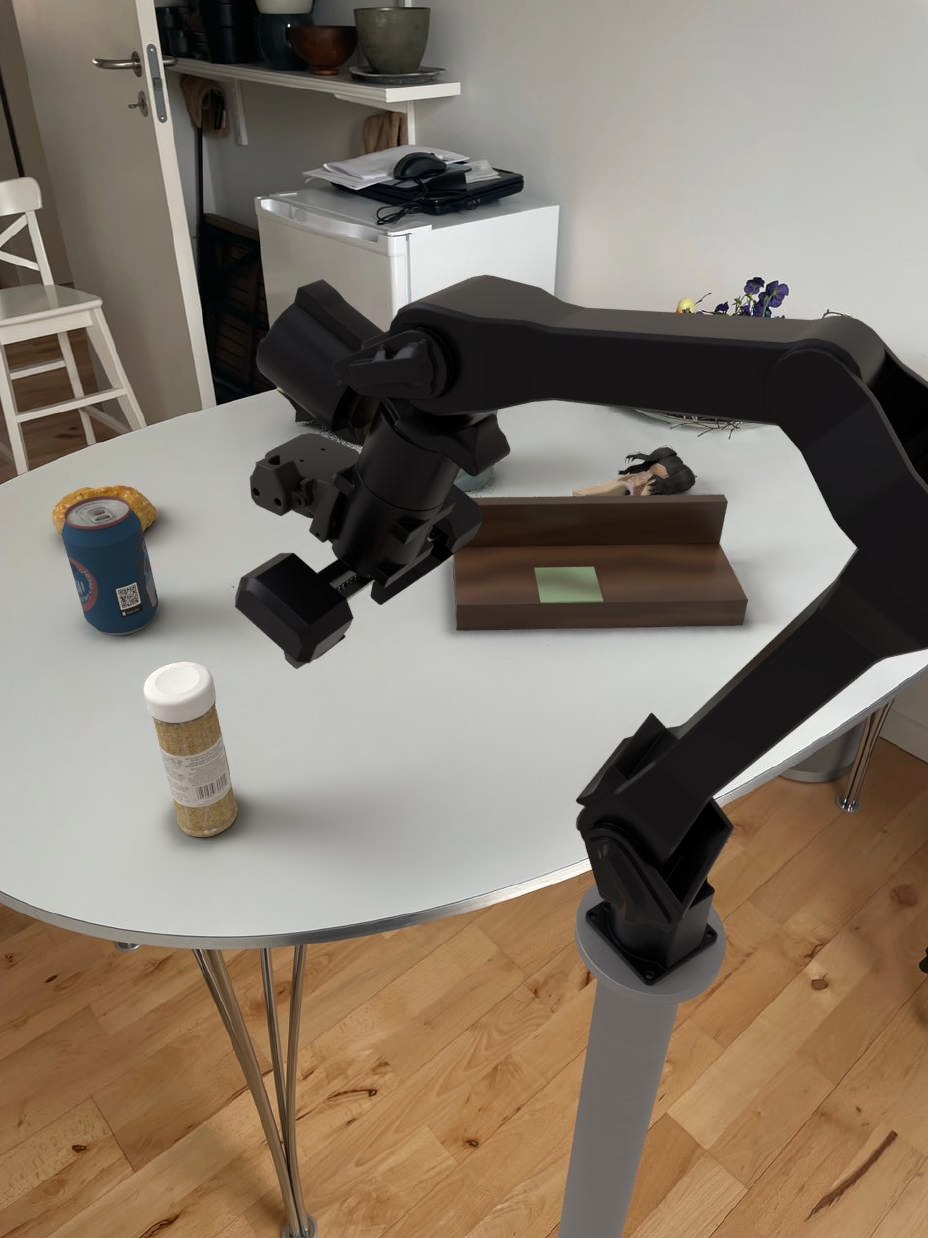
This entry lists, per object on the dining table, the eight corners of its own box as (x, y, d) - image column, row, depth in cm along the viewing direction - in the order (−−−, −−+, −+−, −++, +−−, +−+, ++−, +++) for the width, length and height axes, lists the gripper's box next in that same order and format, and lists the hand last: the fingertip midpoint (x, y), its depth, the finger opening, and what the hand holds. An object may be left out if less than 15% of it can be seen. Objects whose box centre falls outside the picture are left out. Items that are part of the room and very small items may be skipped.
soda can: (77, 614, 92) (46, 506, 85) (144, 590, 96) (120, 485, 89) (102, 648, 88) (71, 538, 81) (172, 622, 91) (149, 514, 84)
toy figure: (607, 534, 106) (703, 494, 112) (606, 483, 103) (705, 444, 109) (568, 515, 111) (661, 477, 118) (565, 465, 108) (662, 430, 114)
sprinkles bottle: (229, 787, 73) (203, 652, 65) (245, 828, 70) (219, 690, 62) (170, 806, 72) (136, 669, 64) (183, 848, 68) (149, 709, 61)
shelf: (742, 625, 91) (758, 555, 87) (456, 630, 90) (456, 560, 86) (711, 559, 101) (724, 493, 96) (452, 563, 100) (452, 497, 95)
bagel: (170, 536, 104) (162, 498, 102) (67, 562, 100) (56, 523, 97) (145, 499, 111) (137, 462, 108) (48, 522, 107) (37, 485, 104)
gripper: (398, 350, 63) (339, 508, 75) (189, 449, 51) (155, 621, 62) (523, 451, 61) (443, 597, 73) (339, 579, 49) (276, 732, 60)
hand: (336, 630), depth 67 cm, fingers open, 9 cm apart
